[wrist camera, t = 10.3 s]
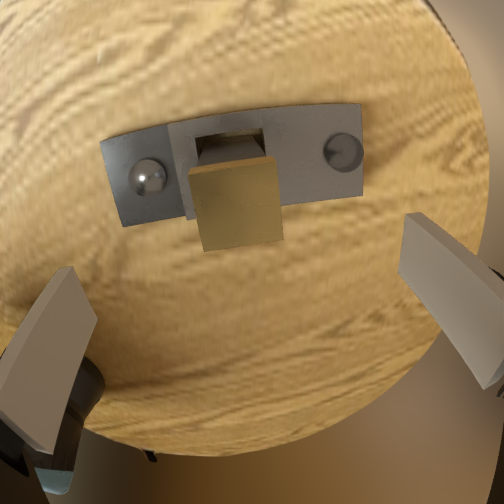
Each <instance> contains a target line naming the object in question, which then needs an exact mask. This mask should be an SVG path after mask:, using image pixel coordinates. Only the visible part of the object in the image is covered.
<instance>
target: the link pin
mask: <svg viewBox="0 0 504 504" xmlns="http://www.w3.org/2000/svg"><path fill="white" fill-rule="evenodd" d="M188 180H189V185H190V190H191V195H192V200H193V204H194V209H195V214H196V218H197V223H198V227H199V232H200V236H201V241H202V245H203V250H204V252H207V251H214V250H220V249H227V248H233V247H240V246H247V245H253V244H260V243H266V242H273V241H280V240H284V239H283V227H282V215H281V204H280V194H279V183H278V173H277V163H276V160H275V159H274V158H273V156H266V155H265V153H264V152H263V150H262V149H261V148H260V146H259V145H258V143H257V142H256V140H255V139H254V138H253V136H252V135H245V136H237V137H231V138H224V139H218V140H212V141H206V143H205V146H204V148H203V151H202V153H201V156H200V158H199V161H198V163H197V166H196V167H194V168H190V170H189V173H188Z"/></svg>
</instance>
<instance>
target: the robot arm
mask: <svg viewBox="0 0 504 504" xmlns="http://www.w3.org/2000/svg"><path fill="white" fill-rule="evenodd" d="M398 274H399V275H400V276H401V277H402V279H403V280H404V281H405V282H406V284H407V285H408V286H409V287H410V288H411V290H412V291H413V292H414V293H415V295H416V296H417V297H418V298H419V300H420V301H421V302H422V303H423V305H424V306H425V307H426V309H427V310H428V311H429V313H430V314H431V315H432V316H433V318H434V319H435V320H436V322H437V323H438V324H439V326H440V327H441V328H442V330H443V331H444V333H445V334H446V335H447V337H448V338H449V339H450V341H451V342H452V343H453V345H454V346H455V348H456V349H457V351H458V352H459V354H460V355H461V356H462V358H463V359H464V361H465V362H466V364H467V365H468V367H469V368H470V370H471V371H472V373H473V374H474V376H475V377H476V379H477V381H478V382H479V384H480V385H481V387H482V388H483V390H484V389H486V388H487V387H489V386H491V385H492V384H494V383H496V382H497V381H499V379H500V378H501V377H502V375H503V374H504V277H503V276H502V275H501V274H500V273H498V272H496V271H495V270H493V269H491V268H490V267H488V266H486V265H485V264H484V263H483V262H482V261H481V260H480V259H479V258H477V257H476V256H475V255H474V254H473V253H472V252H470V251H469V250H468V249H467V248H466V247H464V246H463V245H462V244H461V243H460V242H458V241H457V240H456V239H455V238H453V237H452V236H451V235H450V234H448V233H447V232H446V231H445V230H443V229H442V228H441V227H440V226H438V225H437V224H436V223H434V222H433V221H432V220H430V219H429V218H428V217H426V216H425V215H424V214H422V213H421V212H417V213H409V214H405V222H404V231H403V239H402V247H401V254H400V261H399V268H398ZM97 321H98V318H97V316H96V314H95V312H94V310H93V308H92V306H91V304H90V302H89V300H88V298H87V296H86V294H85V292H84V290H83V288H82V286H81V284H80V281H79V279H78V277H77V275H76V273H75V270H74V268H73V266H70V267H65V268H59V269H58V270H57V271H56V273H55V274H54V275H53V277H52V278H51V280H50V281H49V282H48V284H47V285H46V287H45V288H44V289H43V291H42V292H41V294H40V295H39V297H38V298H37V300H36V301H35V303H34V304H33V306H32V307H31V309H30V310H29V312H28V313H27V315H26V317H25V318H24V320H23V321H22V323H21V325H20V326H19V328H18V329H17V331H16V333H15V335H14V336H13V338H12V340H11V341H10V343H9V345H8V347H7V348H6V349H5V350H4V352H3V353H2V355H1V357H0V504H50V503H49V501H48V499H47V497H46V495H45V492H44V491H46V492H50V493H54V494H64V493H66V492H67V491H68V490H69V487H70V484H71V480H72V477H73V474H74V472H73V471H74V465H75V461H76V456H77V451H78V447H79V442H80V437H81V433H82V429H83V425H84V421H85V419H86V418H87V416H88V415H89V413H90V412H91V410H92V409H93V407H94V406H95V404H96V403H98V402H99V400H100V399H101V397H102V394H103V390H104V386H105V383H104V379H103V377H102V375H101V373H100V372H99V370H98V369H97V368H96V367H95V366H94V365H93V364H92V363H91V362H90V361H89V360H88V359H87V358H85V357H84V353H85V351H86V348H87V346H88V343H89V340H90V338H91V335H92V333H93V331H94V328H95V326H96V323H97ZM503 391H504V384H503V386H502V387H501V388H500V390H499V391H498V394H497V397H500V395H501V394H502V393H503ZM503 398H504V396H503ZM487 504H504V425H503V432H502V440H501V445H500V451H499V456H498V461H497V466H496V471H495V475H494V479H493V483H492V487H491V490H490V494H489V497H488V501H487Z"/></svg>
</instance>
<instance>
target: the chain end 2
mask: <svg viewBox="0 0 504 504" xmlns="http://www.w3.org/2000/svg"><path fill="white" fill-rule="evenodd" d="M167 126H168V131H169V137H170V142H171V147H172V152H173V157H174V162H175V167H176V172H177V177H178V182H179V186H180V191H181V196H182V200H183V205H184V209H185V213H186V218H187V220H191V219H197V218H196V214H195V209H194V204H193V200H192V195H191V190H190V185H189V180H188V173H189V170H190V168H194V167H196V166H197V163H198V161H199V158H200V157H199V151H198V146H197V140H196V137H202V136H207V135H213V134H220V133H226V132H233V131H240V130H247V129H255V128H261V129H262V138H263V146H264V153H265V155H266V156H273V158H274V159H275V160H276V163H277V173H278V183H279V194H280V204H281V206H284V205H291V204H299V203H306V202H314V201H322V200H331V199H339V198H348V197H357V196H363V155H364V151H363V139H362V116H361V104H356V103H322V104H303V105H289V106H277V107H273V108H263V109H254V110H246V111H239V112H231V113H225V114H218V115H212V116H206V117H201V118H195V119H190V120H185V121H180V122H175V123H170V124H168V125H167Z"/></svg>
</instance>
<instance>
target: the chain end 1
mask: <svg viewBox="0 0 504 504" xmlns="http://www.w3.org/2000/svg"><path fill="white" fill-rule="evenodd" d="M267 108H271V107H267ZM257 109H263V108H257ZM249 110H254V109H249ZM241 111H246V110H241ZM234 112H239V111H234ZM227 113H231V112H227ZM221 114H225V113H221ZM214 115H218V114H214ZM208 116H212V115H208ZM203 117H206V116H203ZM197 118H201V117H197ZM192 119H195V118H192ZM187 120H190V119H187ZM182 121H185V120H182ZM177 122H180V121H177ZM172 123H175V122H172ZM168 124H170V123H167V124H163V125H158V126H154V127H150V128H146V129H142V130H138V131H134V132H130V133H127V134H123V135H119V136H116V137H112V138H109V139H106V140H103V141H101V142H100V146H101V150H102V154H103V158H104V163H105V167H106V171H107V174H108V178H109V182H110V186H111V189H112V193H113V196H114V200H115V203H116V207H117V210H118V213H119V217H120V220H121V223H122V226H123V227H127V226H133V225H138V224H143V223H148V222H154V221H159V220H165V219H170V218H176V217H181V216H186V213H185V209H184V205H183V200H182V196H181V191H180V186H179V182H178V177H177V172H176V167H175V162H174V157H173V152H172V147H171V142H170V137H169V131H168V126H167V125H168ZM260 132H261V141H262V149H263V152H264V146H263V138H262V129H261V128H260ZM196 140H197V146H198V151H199V157H200V156H201V154H200V149H199V143H198V137H196Z"/></svg>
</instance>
